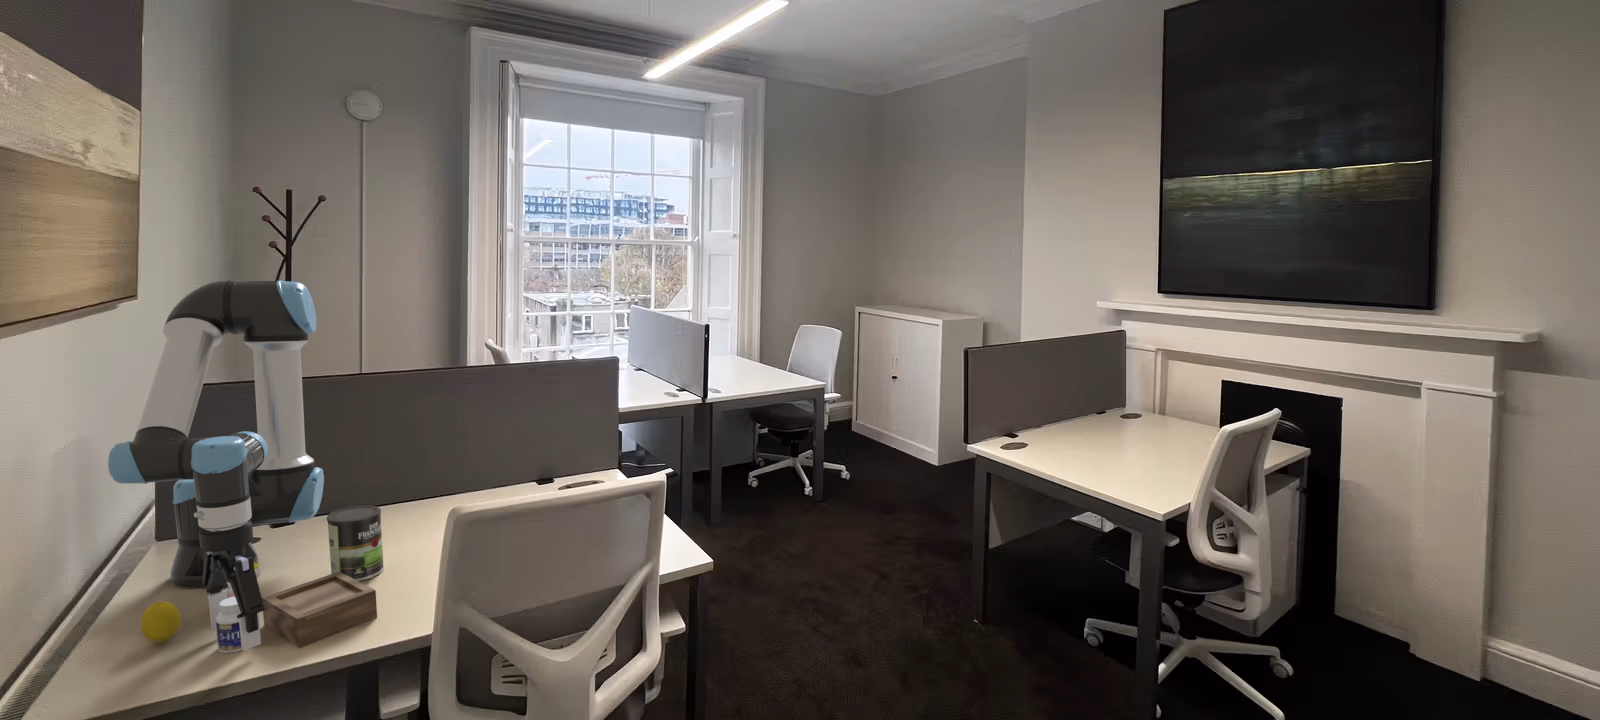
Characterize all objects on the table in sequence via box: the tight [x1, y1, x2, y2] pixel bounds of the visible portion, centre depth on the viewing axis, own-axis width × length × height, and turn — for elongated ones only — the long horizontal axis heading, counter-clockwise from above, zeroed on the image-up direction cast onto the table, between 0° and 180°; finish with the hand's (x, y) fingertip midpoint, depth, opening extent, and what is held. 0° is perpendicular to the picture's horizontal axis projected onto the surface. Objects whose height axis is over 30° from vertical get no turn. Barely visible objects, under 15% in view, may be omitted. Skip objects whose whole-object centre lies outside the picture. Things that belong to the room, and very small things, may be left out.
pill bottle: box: [215, 597, 243, 654], centre depth 133 cm, size 5×5×9 cm
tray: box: [261, 572, 378, 650], centre depth 143 cm, size 14×14×6 cm
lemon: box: [140, 600, 182, 643], centre depth 133 cm, size 6×6×8 cm
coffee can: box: [326, 505, 385, 582], centre depth 163 cm, size 10×10×14 cm
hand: (235, 636), depth 133 cm, fingers open, 12 cm apart
